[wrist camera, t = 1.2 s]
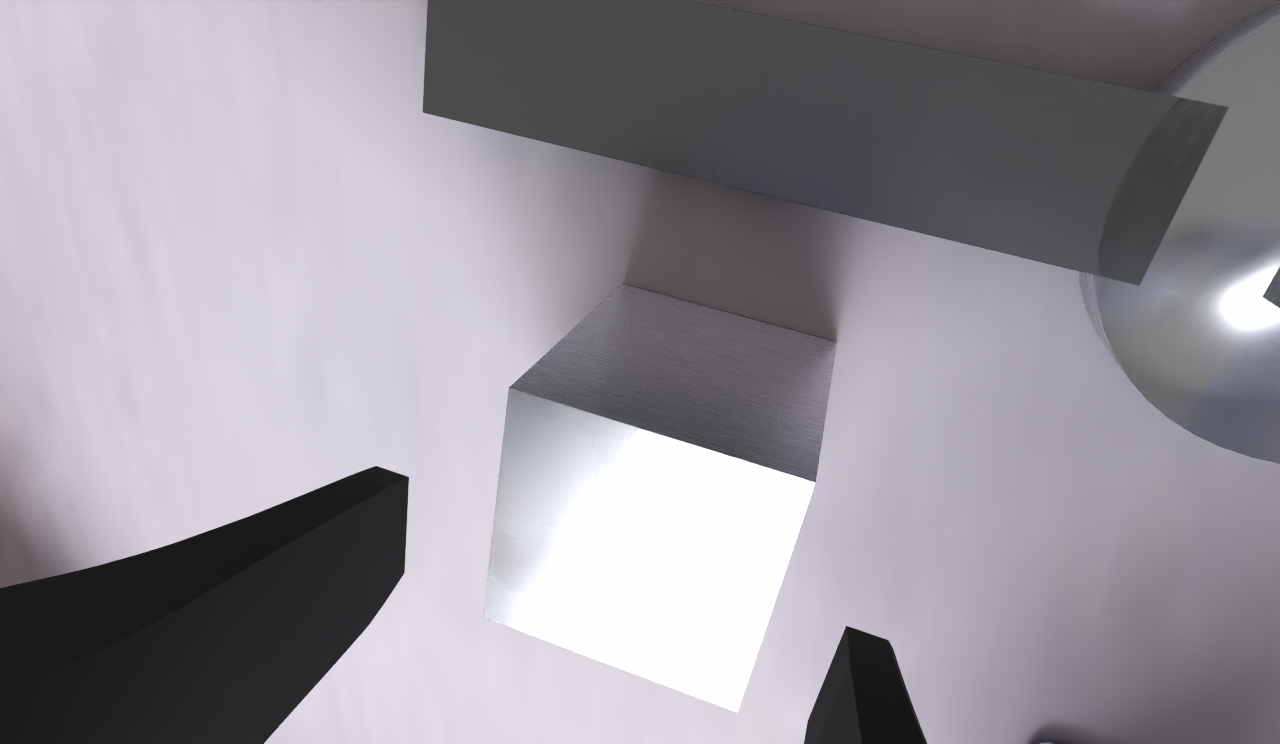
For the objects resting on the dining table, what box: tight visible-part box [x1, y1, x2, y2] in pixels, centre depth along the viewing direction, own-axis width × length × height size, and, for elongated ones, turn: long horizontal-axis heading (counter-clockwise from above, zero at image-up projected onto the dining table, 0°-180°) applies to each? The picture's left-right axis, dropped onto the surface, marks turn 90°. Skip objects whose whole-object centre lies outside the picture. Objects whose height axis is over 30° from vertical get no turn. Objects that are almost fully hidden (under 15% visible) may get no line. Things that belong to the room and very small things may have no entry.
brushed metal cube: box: [483, 284, 837, 712], centre depth 15 cm, size 5×5×6 cm
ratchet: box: [423, 0, 1280, 463], centre depth 12 cm, size 8×21×5 cm, turn 80°
